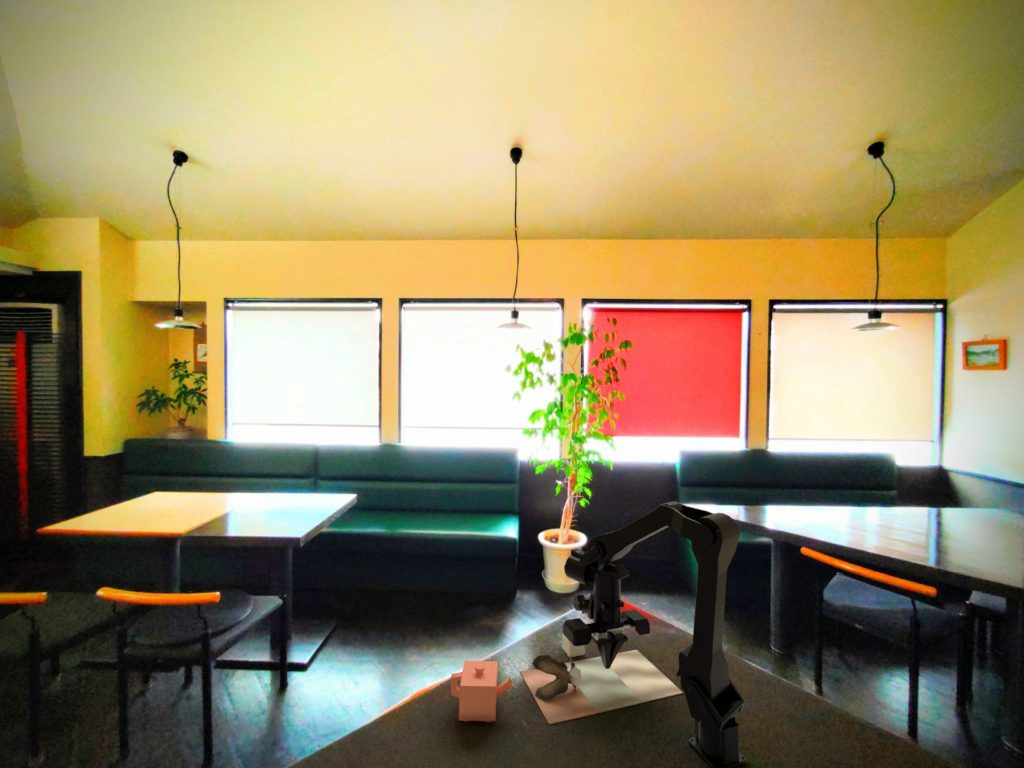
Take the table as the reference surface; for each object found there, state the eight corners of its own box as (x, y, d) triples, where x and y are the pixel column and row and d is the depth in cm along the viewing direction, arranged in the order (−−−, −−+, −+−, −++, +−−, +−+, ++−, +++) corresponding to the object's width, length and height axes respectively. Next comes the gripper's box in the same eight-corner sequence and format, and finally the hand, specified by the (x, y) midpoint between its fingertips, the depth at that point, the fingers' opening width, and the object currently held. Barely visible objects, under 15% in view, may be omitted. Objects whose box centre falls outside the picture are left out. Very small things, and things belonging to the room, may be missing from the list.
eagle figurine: (564, 666, 91) (527, 666, 88) (577, 647, 88) (539, 646, 85) (575, 706, 85) (535, 707, 82) (589, 687, 82) (549, 687, 79)
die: (584, 654, 98) (584, 636, 98) (569, 657, 97) (569, 639, 97) (577, 645, 102) (577, 628, 102) (562, 648, 101) (562, 630, 101)
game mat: (683, 693, 85) (683, 692, 85) (549, 724, 76) (549, 723, 76) (636, 650, 100) (636, 649, 100) (520, 672, 91) (520, 671, 91)
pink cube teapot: (512, 727, 75) (513, 680, 76) (447, 726, 75) (448, 678, 76) (512, 698, 83) (513, 655, 83) (453, 696, 83) (454, 654, 84)
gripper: (622, 574, 101) (622, 641, 99) (552, 583, 95) (551, 654, 94) (651, 593, 90) (652, 668, 89) (574, 604, 84) (574, 685, 83)
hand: (606, 667), depth 89 cm, fingers closed
